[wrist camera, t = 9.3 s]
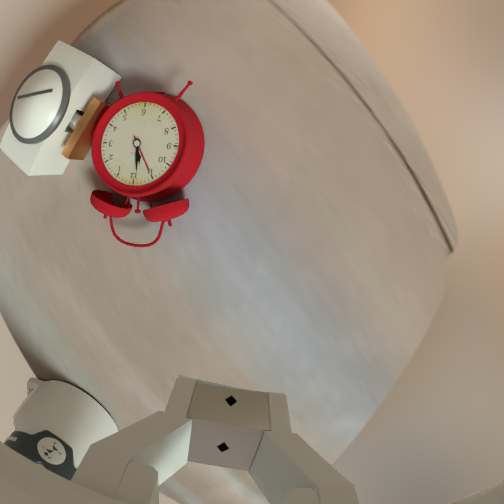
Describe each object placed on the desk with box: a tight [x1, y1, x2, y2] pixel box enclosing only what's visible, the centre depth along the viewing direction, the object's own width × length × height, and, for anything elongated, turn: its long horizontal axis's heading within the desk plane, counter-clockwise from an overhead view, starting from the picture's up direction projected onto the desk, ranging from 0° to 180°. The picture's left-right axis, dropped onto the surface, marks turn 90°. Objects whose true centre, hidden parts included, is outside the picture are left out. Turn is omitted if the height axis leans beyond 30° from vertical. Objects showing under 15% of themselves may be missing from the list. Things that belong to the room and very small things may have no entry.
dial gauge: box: [0, 40, 122, 176], centre depth 22 cm, size 12×8×7 cm, turn 143°
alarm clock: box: [90, 81, 204, 247], centre depth 25 cm, size 10×6×15 cm
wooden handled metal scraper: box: [61, 98, 111, 160], centre depth 23 cm, size 6×6×3 cm
